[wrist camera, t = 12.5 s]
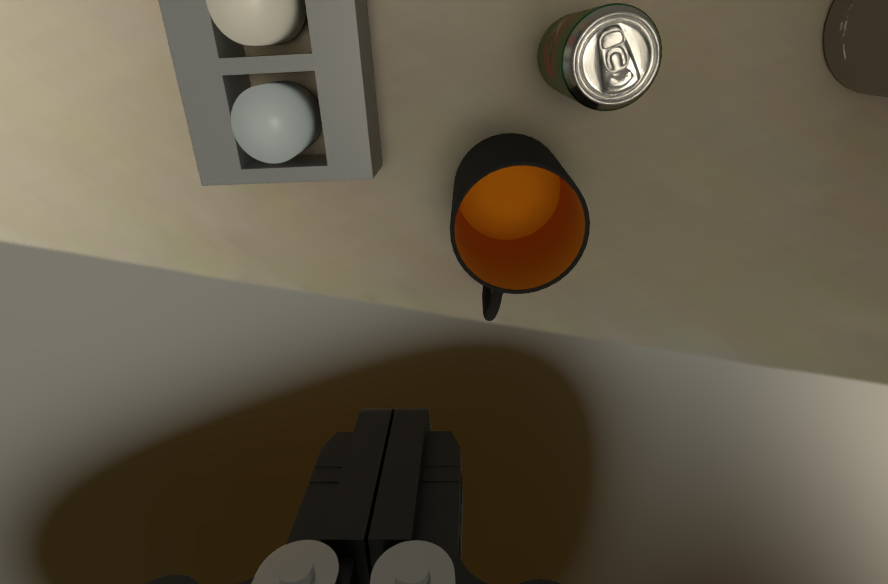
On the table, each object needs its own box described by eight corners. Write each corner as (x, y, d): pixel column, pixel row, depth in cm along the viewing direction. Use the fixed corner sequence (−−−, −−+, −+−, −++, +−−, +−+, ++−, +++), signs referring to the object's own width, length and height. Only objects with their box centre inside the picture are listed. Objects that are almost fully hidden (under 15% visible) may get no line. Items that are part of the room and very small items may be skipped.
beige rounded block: (300, -41, 34) (280, -51, 31) (311, 43, 36) (294, 43, 33) (225, -36, 35) (196, -46, 31) (240, 47, 37) (215, 47, 33)
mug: (434, 270, 45) (426, 331, 36) (466, 122, 40) (466, 146, 31) (533, 290, 45) (550, 356, 36) (576, 146, 40) (609, 177, 31)
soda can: (548, 104, 39) (579, 128, 28) (527, 31, 37) (552, 26, 26) (618, 77, 38) (678, 91, 27) (600, 1, 36) (657, -17, 26)
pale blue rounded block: (316, 78, 37) (299, 82, 34) (326, 150, 39) (311, 161, 36) (247, 82, 37) (223, 87, 34) (260, 153, 39) (239, 165, 36)
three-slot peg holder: (346, -209, 32) (328, -245, 28) (382, 165, 42) (373, 178, 37) (150, -193, 33) (105, -226, 29) (227, 171, 42) (201, 185, 38)
